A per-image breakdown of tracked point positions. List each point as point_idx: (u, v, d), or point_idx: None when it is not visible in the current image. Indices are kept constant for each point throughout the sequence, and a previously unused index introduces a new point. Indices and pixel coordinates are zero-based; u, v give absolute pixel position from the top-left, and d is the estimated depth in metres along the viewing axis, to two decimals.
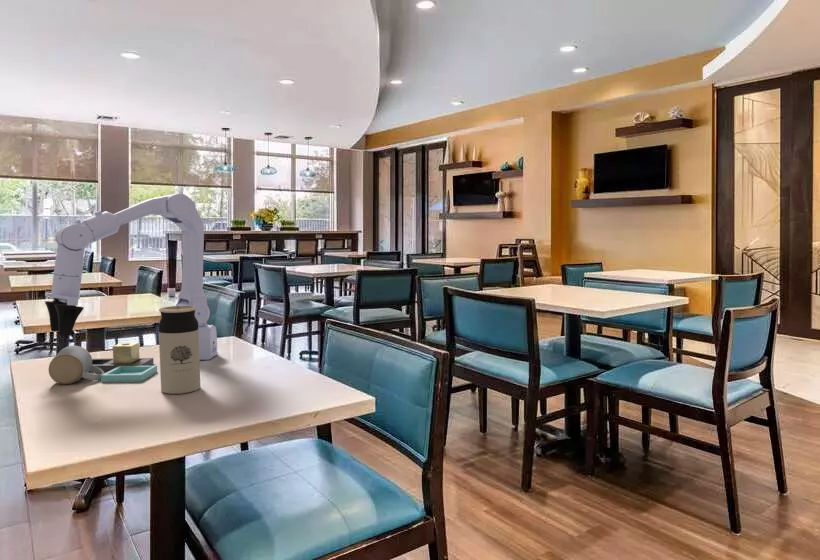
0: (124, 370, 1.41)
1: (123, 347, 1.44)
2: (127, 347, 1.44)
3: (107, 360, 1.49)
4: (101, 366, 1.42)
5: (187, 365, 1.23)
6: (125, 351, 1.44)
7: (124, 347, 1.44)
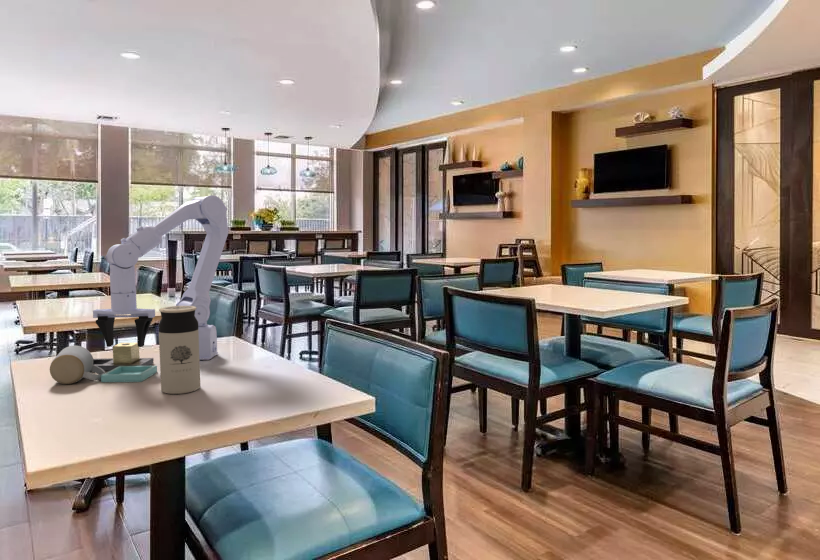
0: (124, 370, 1.41)
1: (123, 347, 1.44)
2: (127, 347, 1.44)
3: (107, 360, 1.49)
4: (101, 366, 1.42)
5: (187, 365, 1.23)
6: (125, 351, 1.44)
7: (124, 347, 1.44)
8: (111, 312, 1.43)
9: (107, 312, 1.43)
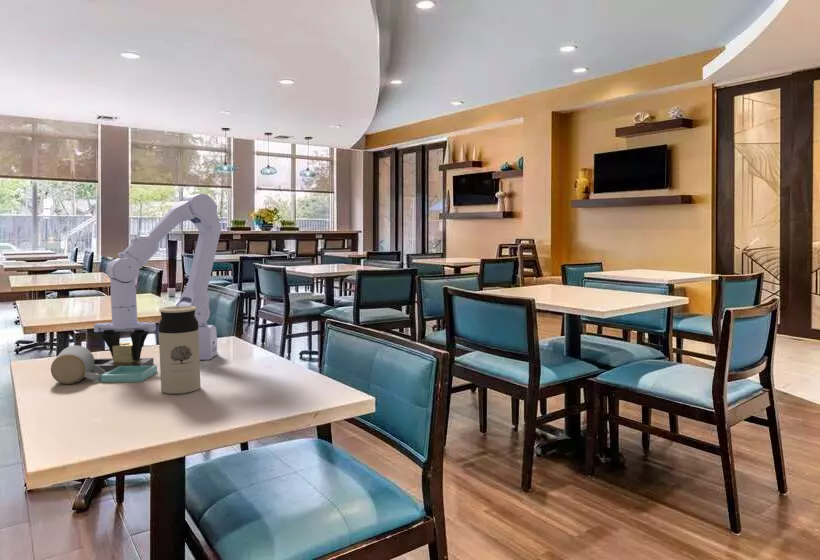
0: (124, 370, 1.41)
1: (123, 347, 1.44)
2: (127, 347, 1.44)
3: (107, 360, 1.49)
4: (101, 366, 1.42)
5: (187, 365, 1.23)
6: (125, 351, 1.44)
7: (124, 347, 1.44)
8: (112, 326, 1.43)
9: (108, 326, 1.43)
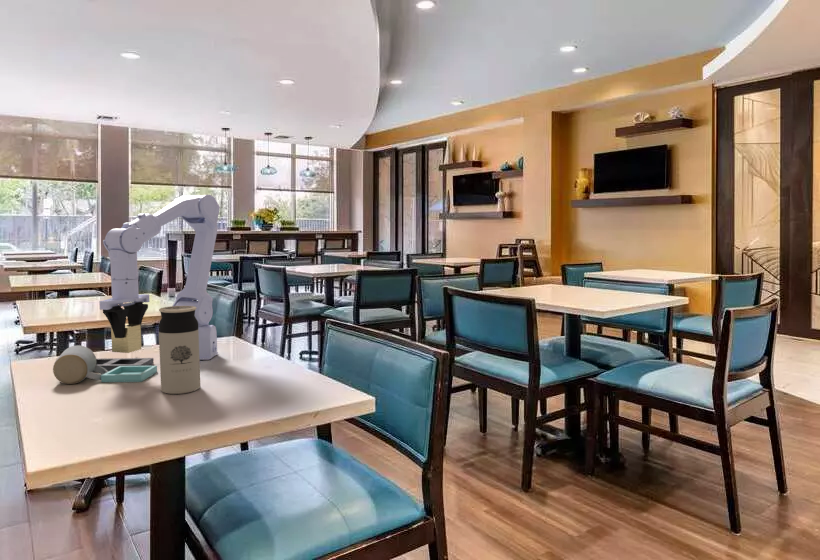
0: (124, 370, 1.41)
1: (135, 327, 1.38)
2: (138, 326, 1.39)
3: (107, 360, 1.49)
4: (101, 366, 1.42)
5: (187, 365, 1.23)
6: (136, 331, 1.38)
7: (136, 327, 1.38)
8: (129, 300, 1.35)
9: (124, 300, 1.34)
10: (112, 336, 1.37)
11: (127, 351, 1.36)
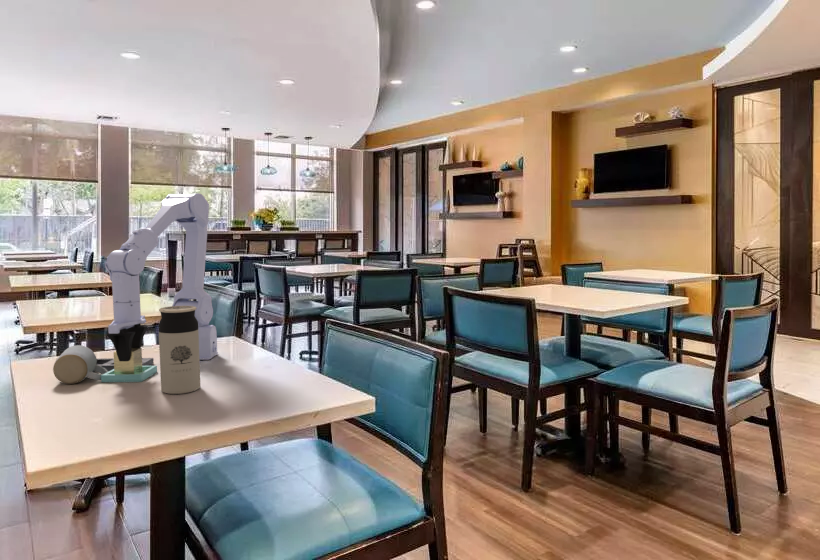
0: None
1: (138, 350, 1.37)
2: (140, 349, 1.38)
3: (107, 360, 1.49)
4: (101, 366, 1.42)
5: (187, 365, 1.23)
6: (139, 354, 1.37)
7: (138, 350, 1.37)
8: (135, 322, 1.34)
9: (130, 323, 1.33)
10: (115, 361, 1.34)
11: None
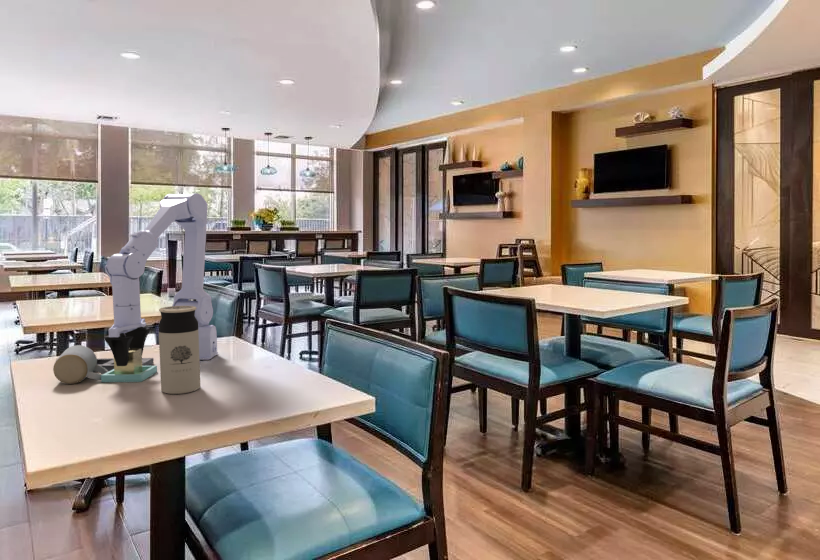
0: None
1: (138, 351, 1.37)
2: (139, 350, 1.38)
3: (107, 360, 1.49)
4: None
5: (187, 365, 1.23)
6: (138, 355, 1.37)
7: (138, 351, 1.37)
8: (135, 326, 1.34)
9: (131, 327, 1.33)
10: (115, 362, 1.34)
11: None
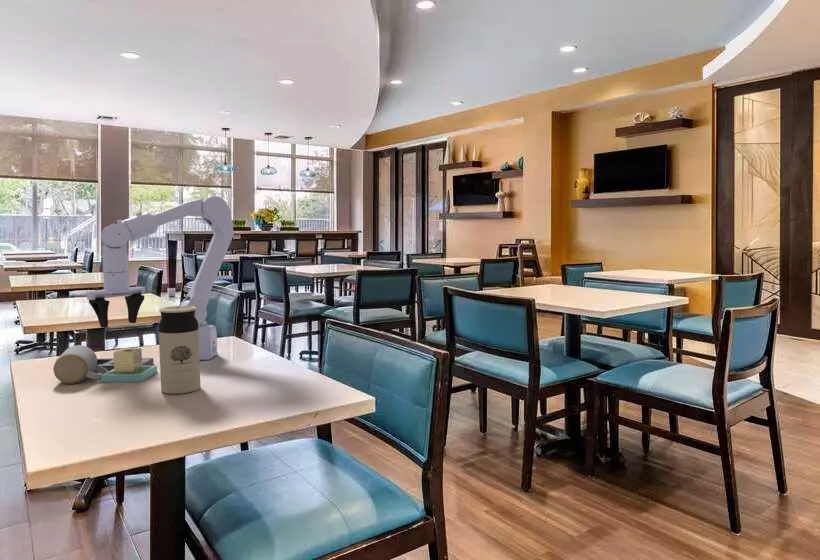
0: None
1: (138, 351, 1.37)
2: (139, 350, 1.38)
3: (107, 360, 1.49)
4: None
5: (187, 365, 1.23)
6: (138, 355, 1.37)
7: (138, 351, 1.37)
8: (115, 291, 1.45)
9: (110, 292, 1.44)
10: (115, 362, 1.34)
11: None
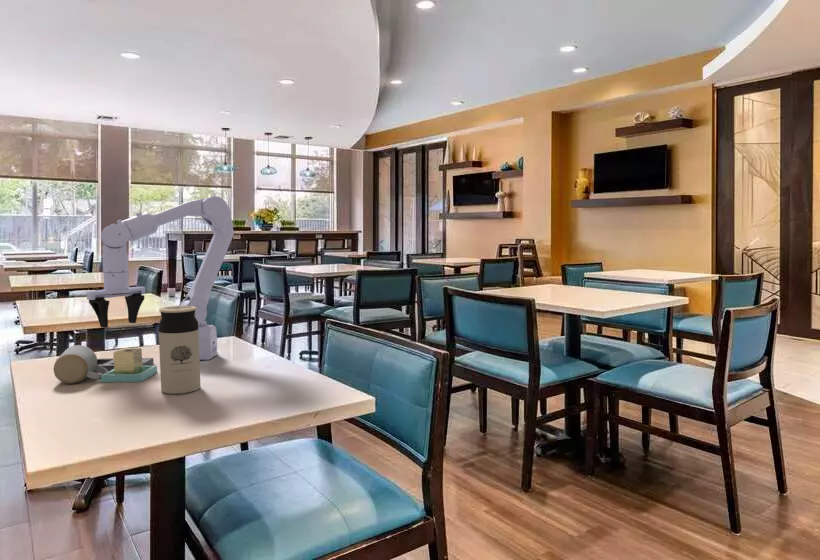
0: None
1: (138, 351, 1.37)
2: (139, 350, 1.38)
3: (107, 360, 1.49)
4: None
5: (187, 365, 1.23)
6: (138, 355, 1.37)
7: (138, 351, 1.37)
8: (115, 291, 1.45)
9: (110, 292, 1.44)
10: (115, 362, 1.34)
11: None
